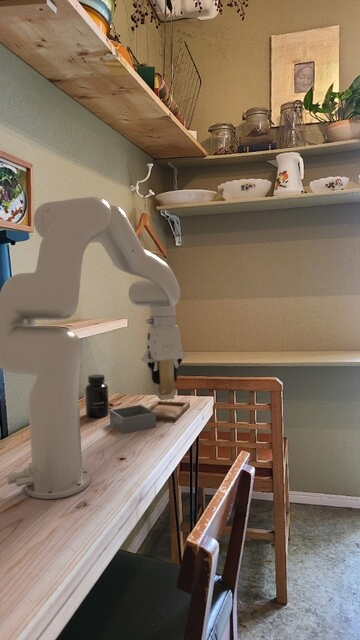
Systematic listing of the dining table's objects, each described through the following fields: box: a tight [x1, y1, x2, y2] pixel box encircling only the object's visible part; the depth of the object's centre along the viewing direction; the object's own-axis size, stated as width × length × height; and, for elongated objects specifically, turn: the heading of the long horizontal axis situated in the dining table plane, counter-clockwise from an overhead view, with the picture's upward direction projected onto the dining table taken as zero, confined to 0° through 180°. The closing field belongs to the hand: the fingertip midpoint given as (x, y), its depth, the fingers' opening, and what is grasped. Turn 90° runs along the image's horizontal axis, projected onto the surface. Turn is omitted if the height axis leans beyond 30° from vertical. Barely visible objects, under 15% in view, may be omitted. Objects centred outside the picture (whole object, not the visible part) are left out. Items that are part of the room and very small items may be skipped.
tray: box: [140, 400, 191, 423], centre depth 134 cm, size 15×11×1 cm
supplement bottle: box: [84, 374, 110, 419], centre depth 133 cm, size 7×7×12 cm
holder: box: [109, 404, 157, 434], centre depth 123 cm, size 10×10×4 cm
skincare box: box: [155, 359, 175, 401], centre depth 133 cm, size 6×4×12 cm
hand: (164, 381), depth 133 cm, fingers closed on skincare box, 5 cm apart
